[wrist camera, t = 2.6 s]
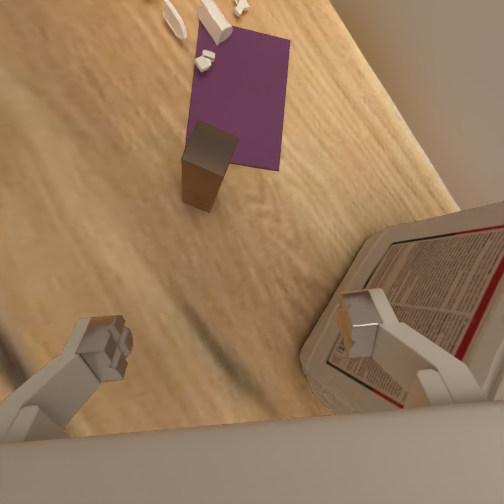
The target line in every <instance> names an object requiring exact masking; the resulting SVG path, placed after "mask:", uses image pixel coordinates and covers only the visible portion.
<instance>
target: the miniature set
mask: <svg viewBox="0 0 504 504" xmlns="http://www.w3.org/2000/svg"><path fill="white" fill-rule="evenodd" d="M234 1H235V2H236V4H237V7H235V8H234V10H233V11H234V12H235V13H236V15H237V16H238V17H240V16H241V14H242V11H246V10H249V8H250V6H249V4H248V3H247V1H246V0H237V1H238V2H237V1H236V0H234ZM164 3H165V4H166V8H165V12H164V11H162V16H163V17H164V19H165V20H166V22H167V23H168V25H169V26H170V28H171V29H172V31H173V32H174V34H175V35H176V37H178V38H179V39H180V40H182V41H183V40H187V39H188V34H187V30H186V27H185V25H184V22H183V20H182V18H181V17H180V15H179V14H178V12H177V11H176V9H175V8H174V6H173V5H172V3H171V2H170V0H164ZM197 16H198V18H199V19H200V21H201V22H202V24H203V25H204V27H205V28H206V30H207V31H208V33H209V34H210V36H211V37H212V39H213V40H214V42H215V43H216V45H219V44H220V43H221V42H223V41H225V40H226V39H227V38H228V37H229V36H230V35H231V33H232V31H233V28H232V26H231V25H230V24H229V23H228V21H227V20H226V18H225V17H224V15H223V14H222V12H221V11H220V9H219V8H218V6H217V4H216V2H215V0H201V2H200V6H199V10H198V15H197ZM214 60H215V53H213V52H211V51H208V50H203V52H202V56H200V57H198V58H196V59H195V64H196V66H197V67H198V69H199V70H200V71H201V72H204V71H206V70H208V69H209V67H210V66H211V62H214ZM210 61H211V62H210Z"/></svg>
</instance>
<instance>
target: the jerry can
mask: <svg viewBox="0 0 504 504" xmlns="http://www.w3.org/2000/svg"><path fill="white" fill-rule="evenodd" d="M375 288H381V289H382V290H383V291H384V293H385V295H386V297H387V299H388V301H389V303H390V305H391V307H392V309H393V311H394V313H395V315H396V317H397V319H398V321H399V322H404V323H405V324H407V325H408V326H410V327H411V328H413V329H414V330H416V331H417V332H419V333H420V334H422V335H423V336H424V337H426V338H427V339H429V340H430V341H432V342H433V343H435V344H436V345H438V346H439V347H441V348H442V349H444V350H445V351H447V352H448V353H450V354H451V355H453V356H454V357H456V358H457V359H458V360H460V361H461V362H463V363H464V364H466V365H467V367H468V368H469V370H470V372H471V373H472V375H473V377H474V378H475V380H476V381H477V383H478V385H479V386H480V388H481V389H482V391H483V393H484V394H485V396H486V398H487V399H488V401H495V400H504V201H502V202H498V203H494V204H491V205H486V206H482V207H477V208H473V209H468V210H464V211H459V212H455V213H451V214H447V215H443V216H439V217H434V218H430V219H426V220H422V221H417V222H412V223H404V224H399V225H397V226H389V227H387V228H385V229H383V230H382V231H380V232H378V233H376V234H374V235H372V236H371V237H370V238H368V239H367V240H366V241H365V243H364V244H363V246H362V248H361V249H360V251H359V253H358V254H357V256H356V258H355V260H354V261H353V263H352V265H351V267H350V268H349V270H348V272H347V274H346V276H345V277H344V279H343V281H342V282H341V283H340V285H339V287H338V288H337V290H336V292H335V293H334V295H333V297H332V298H331V300H330V302H329V304H328V306H327V307H326V309H325V310H324V312H323V313H322V315H321V317H320V318H319V320H318V322H317V324H316V325H315V327H314V329H313V330H312V332H311V334H310V336H309V337H308V339H307V340H306V342H305V344H304V345H303V347H302V348H301V352H300V355H299V357H300V361H301V363H302V370H303V372H304V374H305V376H306V378H307V380H308V383H309V386H310V388H311V390H312V393H313V394H314V395H315V396H316V397H317V398H318V399H319V400H320V401H321V402H322V403H323V404H324V405H325V406H327V407H328V408H329V409H330V410H331V411H332V412H333V413H334V414H335V415H336V414H347V413H359V412H370V411H381V410H393V409H403V408H404V405H405V403H406V400H407V397H408V395H409V393H408V392H407V391H405V390H404V389H403V388H402V387H401V386H400V385H399V384H398V383H397V382H396V381H395V380H394V379H393V378H392V377H391V376H390V375H389V374H388V373H387V372H386V371H385V370H384V369H383V368H382V367H381V366H380V365H379V364H378V363H377V362H376V361H375V360H374V359H373V358H372V357H362V358H348V356H347V353H346V350H345V346H344V343H343V341H344V335H343V334H341V333H340V330H339V327H338V322H337V307H338V306H339V302H338V294H339V292H347V291H356V290H367V289H375Z"/></svg>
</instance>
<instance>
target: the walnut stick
mask: <svg viewBox="0 0 504 504" xmlns="http://www.w3.org/2000/svg"><path fill="white" fill-rule="evenodd" d="M238 140H239V138H238V137H235V136H233V135H231V134H229V133H226V132H224V131H222V130H220V129H218V128H215V127H213V126H211V125H209V124H207V123H204V122H202V121H200V120H197V122H196V125H195V127H194V130H193V132H192V134H191V137H190V139H189V142H188V144H187V146H186V149H185V151H184V154H183V156H182V158H181V161H182V201H183V202H184V203H186V204H189V205H191V206H194V207H196V208H198V209H201V210H203V211H206V212H208V213H210V210H211V208H212V205H213V203H214V200H215V198H216V195H217V193H218V190H219V188H220V186H221V183H222V181H223V178H224V176H225V173H226V170H227V168H228V165H229V163H230V160H231V158H232V155H233V153H234V150H235V148H236V145H237V142H238Z"/></svg>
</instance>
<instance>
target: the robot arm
mask: <svg viewBox="0 0 504 504" xmlns="http://www.w3.org/2000/svg"><path fill="white" fill-rule="evenodd" d="M338 302H339V306H338V307H337V322H338V327H339V330H340V333H341V334H343V335H344V341H343V343H344V346H345V350H346V353H347V356H348V358H362V357H372V358H373V359H374V360H375V361H376V362H377V363H378V364H379V365H380V366H381V367H382V368H383V369H384V370H385V371H386V372H387V373H388V374H389V375H390V376H391V377H392V378H393V379H394V380H395V381H396V382H397V383H398V384H399V385H400V386H401V387H402V388H403V389H404V390H405V391H407V392H408V393H409V395H408V397H407V400H406V403H405V405H404V408H403V409H393V410H381V411H370V412H359V413H347V414H336V415H324V416H313V417H302V418H290V419H279V420H267V421H256V422H244V423H233V424H222V425H210V426H199V427H188V428H177V429H165V430H154V431H143V432H131V433H120V434H108V435H97V436H86V437H74V438H71V436H70V435H69V434H68V433H67V432H66V431H64V430H63V428H64V427H65V426H66V425H67V423H68V422H69V421H70V420H71V419H72V417H73V416H74V415H75V414H76V413H77V411H78V410H79V409H80V408H81V407H82V405H83V404H84V403H85V402H86V401H87V399H88V398H89V397H90V396H91V395H92V393H93V392H94V391H95V390H96V389H97V387H98V386H99V385H100V384H101V383H100V382H107V381H115V380H123V377H124V374H125V371H126V368H127V364H128V363H127V361H126V359H125V358H126V357H127V356H128V355H129V354H130V353H131V351H132V347H133V337H132V333H131V331H130V329H129V328H127V327H126V326H124V324H125V320H124V318H123V316H122V315H115V316H101V317H91V318H81V319H79V320H78V321H77V323H76V325H75V327H74V329H73V331H72V333H71V335H70V337H69V339H68V341H67V343H66V345H65V347H64V349H63V351H62V353H61V355H60V356H56V357H55V358H53V359H52V360H51V361H50V362H49V363H47V364H46V365H45V366H44V367H43V368H41V369H40V370H39V371H38V372H37V373H36V374H34V375H33V376H32V377H31V378H30V379H28V380H27V381H26V382H25V383H24V384H22V385H21V386H20V387H19V388H18V389H16V390H15V391H14V392H13V393H12V394H11V395H9V396H8V397H7V398H6V399H5V400H3V401H2V402H1V403H0V504H504V400H495V401H488V399H487V398H486V396H485V394H484V393H483V391H482V389H481V388H480V386H479V385H478V383H477V381H476V380H475V378H474V377H473V375H472V373H471V372H470V370H469V368H468V367H467V365H466V364H464V363H463V362H461V361H460V360H458V359H457V358H456V357H454V356H453V355H451V354H450V353H448V352H447V351H445V350H444V349H442V348H441V347H439V346H438V345H436V344H435V343H433V342H432V341H430V340H429V339H427V338H426V337H424V336H423V335H422V334H420V333H419V332H417V331H416V330H414V329H413V328H411V327H410V326H408V325H407V324H405V323H404V322H399V321H398V319H397V317H396V315H395V313H394V311H393V309H392V307H391V305H390V303H389V301H388V299H387V297H386V295H385V293H384V291H383V290H382V289H381V288H375V289H367V290H356V291H347V292H339V294H338Z"/></svg>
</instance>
